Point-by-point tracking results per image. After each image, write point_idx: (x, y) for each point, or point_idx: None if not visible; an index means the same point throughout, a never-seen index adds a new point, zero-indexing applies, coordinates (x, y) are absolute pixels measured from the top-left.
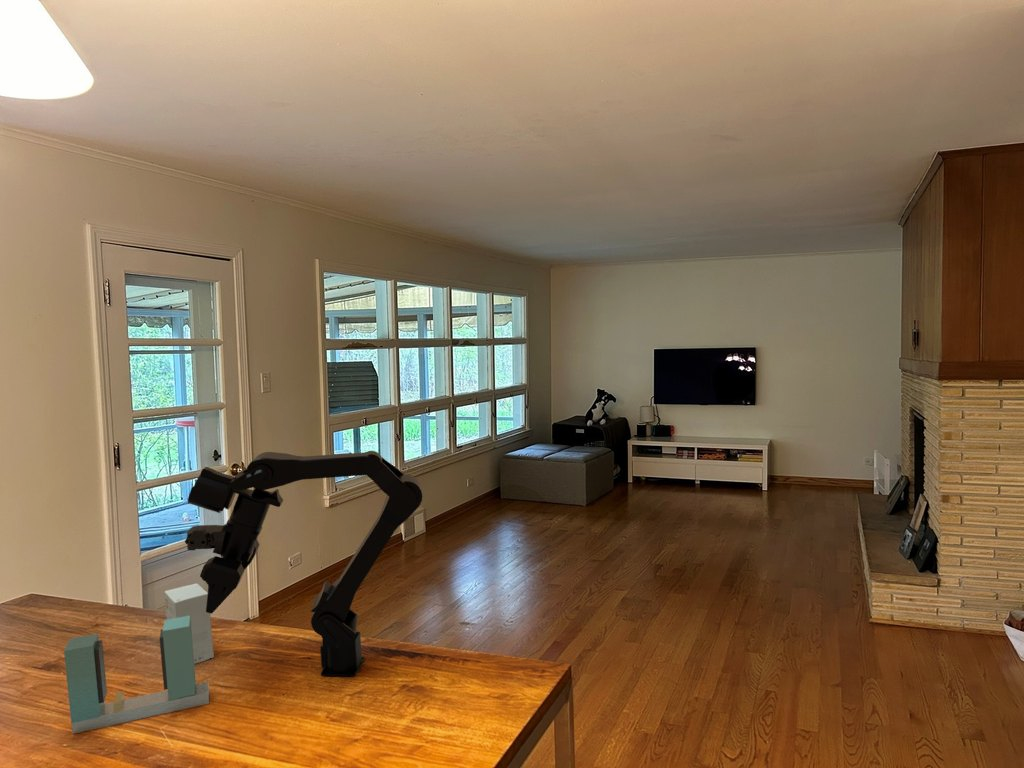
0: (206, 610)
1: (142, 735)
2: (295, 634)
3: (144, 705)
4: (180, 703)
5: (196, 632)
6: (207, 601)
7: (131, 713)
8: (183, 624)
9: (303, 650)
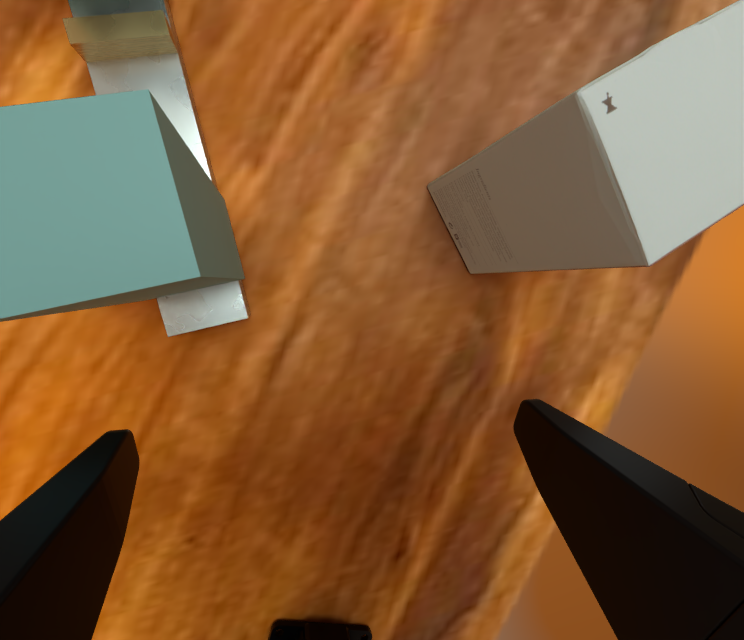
0: (97, 442)
1: None
2: None
3: None
4: None
5: (500, 222)
6: (7, 518)
7: None
8: (9, 269)
9: (449, 526)
